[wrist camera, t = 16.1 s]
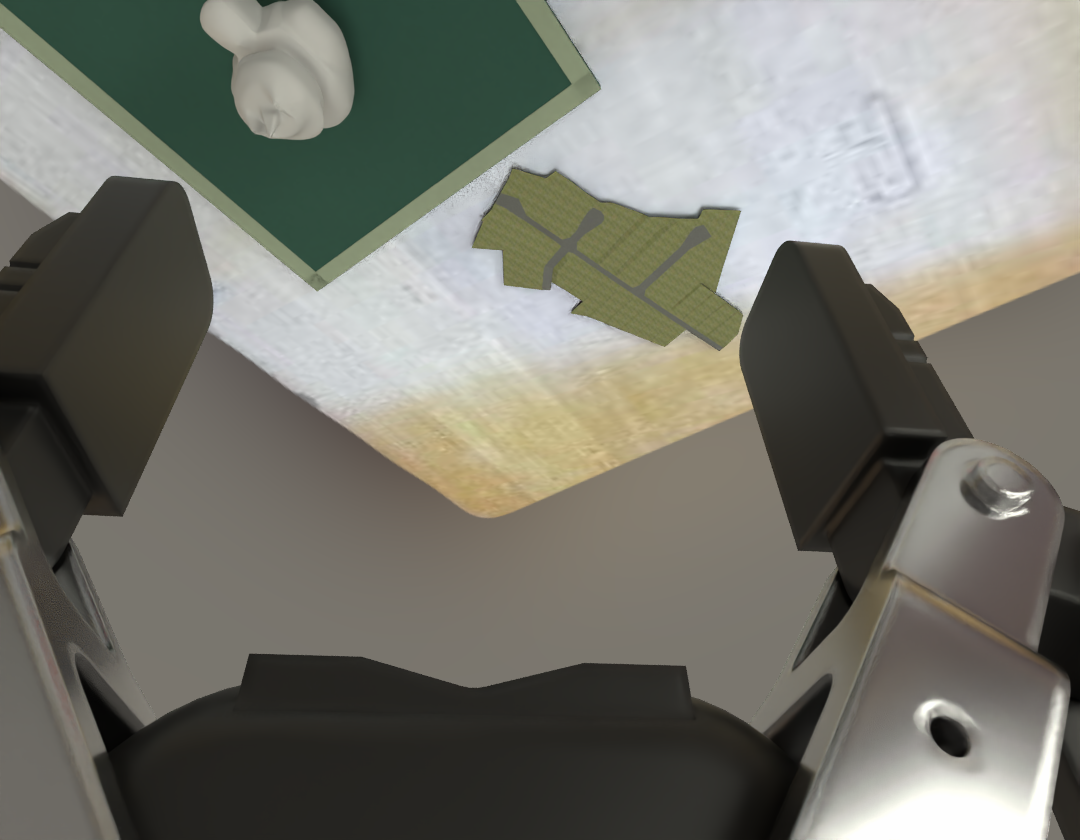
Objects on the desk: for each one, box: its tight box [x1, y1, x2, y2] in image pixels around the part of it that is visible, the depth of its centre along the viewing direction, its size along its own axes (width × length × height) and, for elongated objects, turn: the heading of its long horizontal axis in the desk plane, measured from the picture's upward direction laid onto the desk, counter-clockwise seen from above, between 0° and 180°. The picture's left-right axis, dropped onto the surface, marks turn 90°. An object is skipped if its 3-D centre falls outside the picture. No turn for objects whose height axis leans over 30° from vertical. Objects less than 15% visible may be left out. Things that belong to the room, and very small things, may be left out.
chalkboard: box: [0, 0, 601, 291], centre depth 31 cm, size 20×20×1 cm
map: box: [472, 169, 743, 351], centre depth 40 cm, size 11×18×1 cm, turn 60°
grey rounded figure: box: [200, 0, 354, 140], centre depth 29 cm, size 5×7×8 cm
